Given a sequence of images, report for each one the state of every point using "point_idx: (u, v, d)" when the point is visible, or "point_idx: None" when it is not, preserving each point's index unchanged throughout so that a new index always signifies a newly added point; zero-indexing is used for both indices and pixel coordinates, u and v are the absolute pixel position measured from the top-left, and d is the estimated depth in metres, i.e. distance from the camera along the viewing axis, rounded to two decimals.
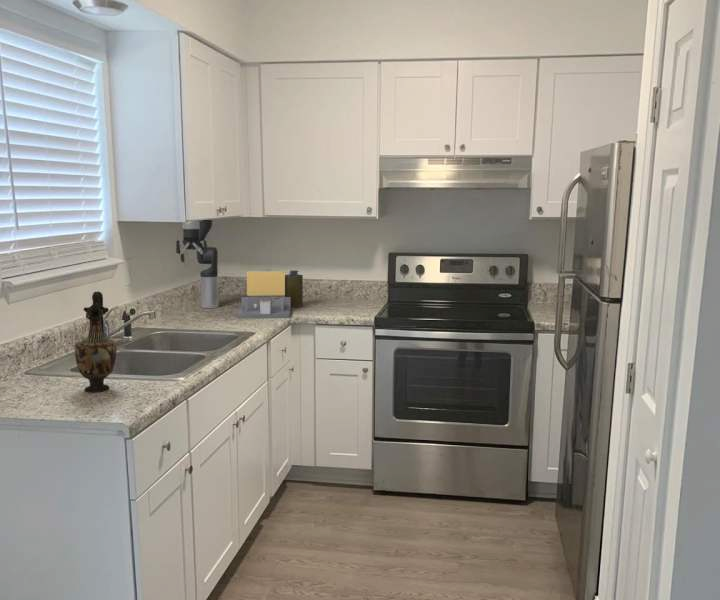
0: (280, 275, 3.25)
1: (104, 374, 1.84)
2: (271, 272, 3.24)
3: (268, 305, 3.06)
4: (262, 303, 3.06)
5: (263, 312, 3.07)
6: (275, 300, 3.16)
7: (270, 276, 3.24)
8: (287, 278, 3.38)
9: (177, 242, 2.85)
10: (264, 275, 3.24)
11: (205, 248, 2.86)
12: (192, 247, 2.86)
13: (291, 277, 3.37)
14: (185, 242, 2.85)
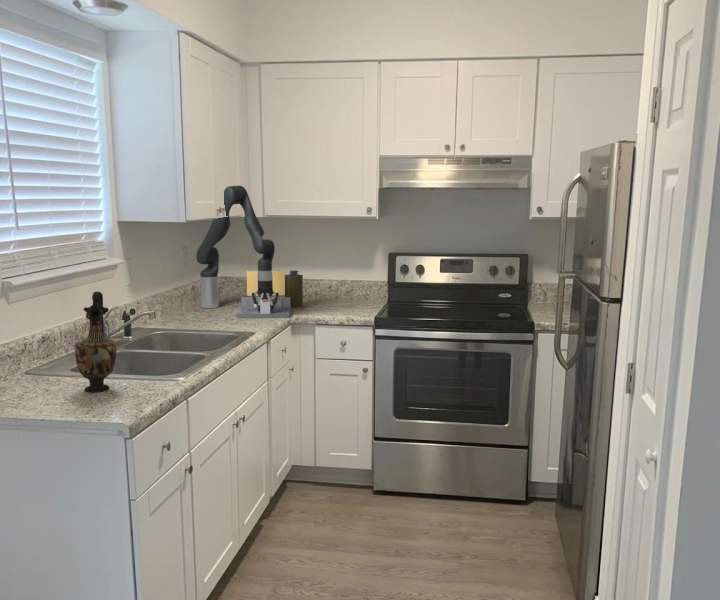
0: (280, 275, 3.25)
1: (104, 374, 1.84)
2: None
3: (268, 305, 3.06)
4: (262, 303, 3.06)
5: (263, 312, 3.07)
6: None
7: None
8: (287, 278, 3.38)
9: (252, 294, 3.06)
10: None
11: (276, 300, 3.08)
12: (266, 297, 3.07)
13: (291, 277, 3.37)
14: (259, 293, 3.07)
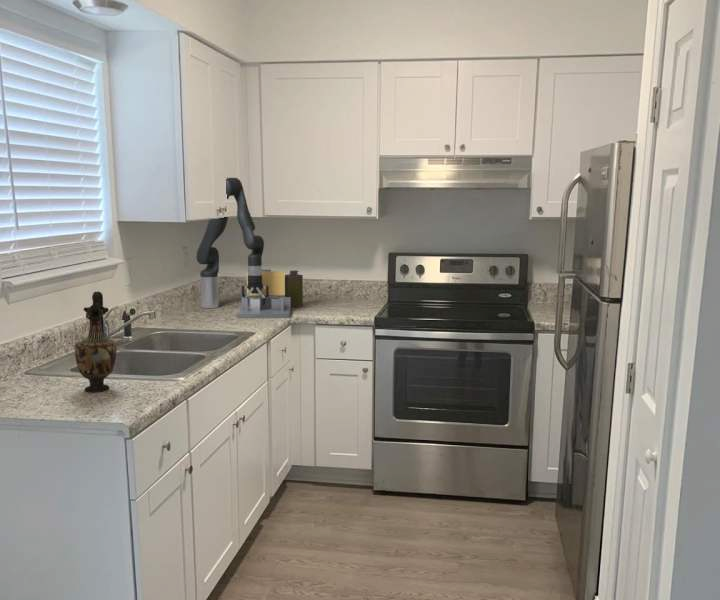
0: (280, 275, 3.25)
1: (104, 374, 1.84)
2: (271, 272, 3.24)
3: (258, 302, 3.16)
4: (252, 300, 3.15)
5: (253, 309, 3.16)
6: (275, 300, 3.16)
7: (270, 276, 3.24)
8: (287, 278, 3.38)
9: (242, 287, 3.15)
10: (264, 275, 3.24)
11: (267, 292, 3.17)
12: (256, 291, 3.16)
13: (291, 277, 3.37)
14: (249, 287, 3.16)
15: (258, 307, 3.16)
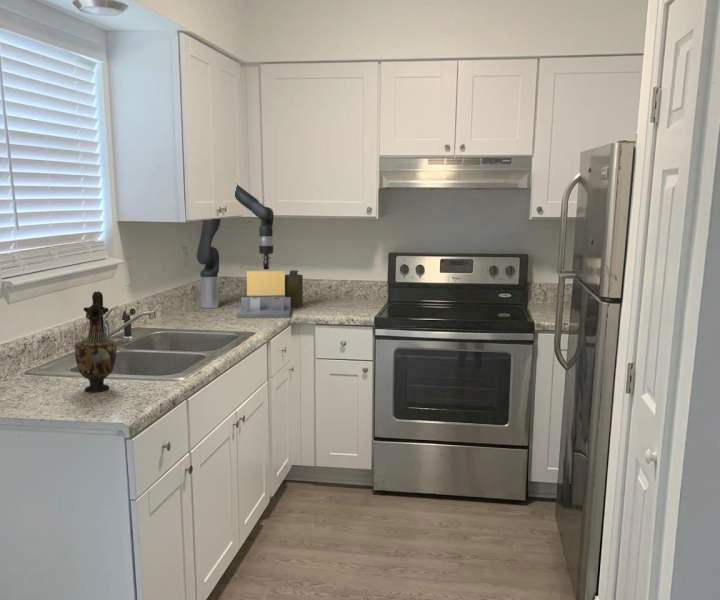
0: (280, 275, 3.25)
1: (104, 374, 1.84)
2: (271, 272, 3.24)
3: (258, 302, 3.16)
4: (252, 300, 3.15)
5: (253, 309, 3.16)
6: (275, 300, 3.16)
7: (270, 276, 3.24)
8: (287, 278, 3.38)
9: None
10: (264, 275, 3.24)
11: (263, 265, 3.24)
12: None
13: (291, 277, 3.37)
14: None
15: (258, 307, 3.16)
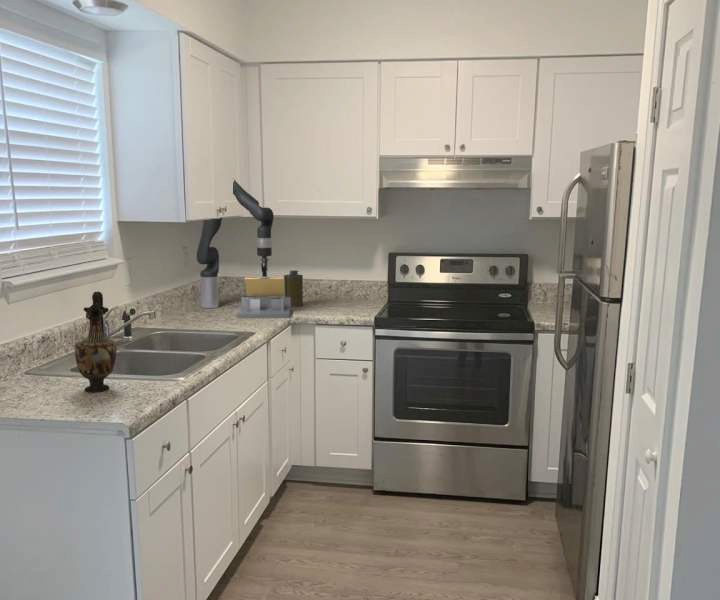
0: (279, 281, 3.17)
1: (104, 374, 1.84)
2: (270, 279, 3.15)
3: (258, 302, 3.16)
4: (252, 300, 3.15)
5: (253, 309, 3.16)
6: (275, 300, 3.16)
7: (269, 282, 3.17)
8: (287, 278, 3.38)
9: None
10: (263, 281, 3.16)
11: None
12: None
13: (291, 277, 3.37)
14: None
15: (258, 307, 3.16)
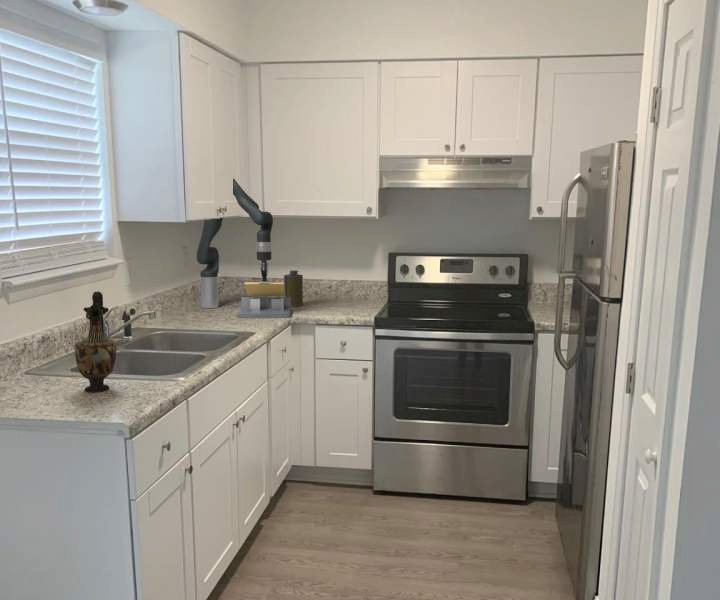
0: (279, 285, 3.15)
1: (104, 374, 1.84)
2: (270, 284, 3.13)
3: (258, 302, 3.16)
4: (252, 300, 3.15)
5: (253, 309, 3.16)
6: (275, 300, 3.16)
7: (269, 286, 3.15)
8: (287, 278, 3.38)
9: None
10: (263, 285, 3.14)
11: (261, 272, 3.11)
12: None
13: (291, 277, 3.37)
14: None
15: (258, 307, 3.16)
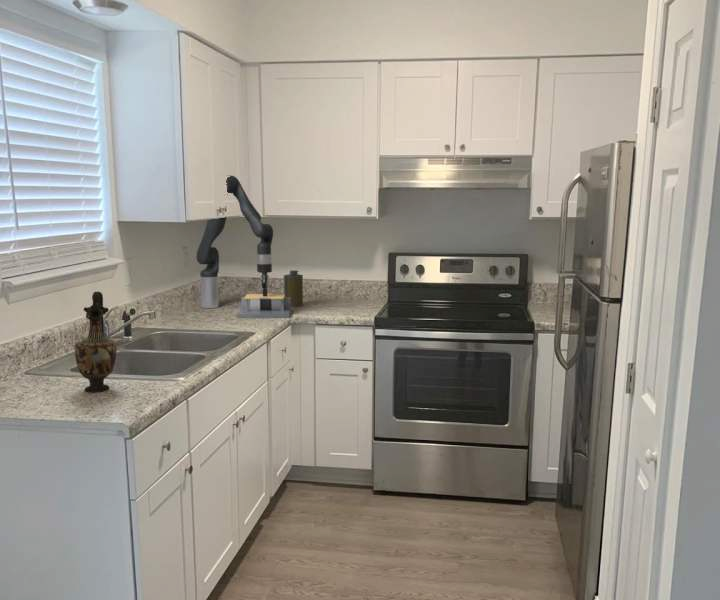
0: None
1: (104, 374, 1.84)
2: (269, 298, 3.12)
3: (258, 302, 3.16)
4: (252, 300, 3.15)
5: (253, 309, 3.16)
6: (275, 300, 3.16)
7: None
8: (287, 278, 3.38)
9: None
10: None
11: None
12: None
13: (291, 277, 3.37)
14: None
15: (258, 307, 3.16)
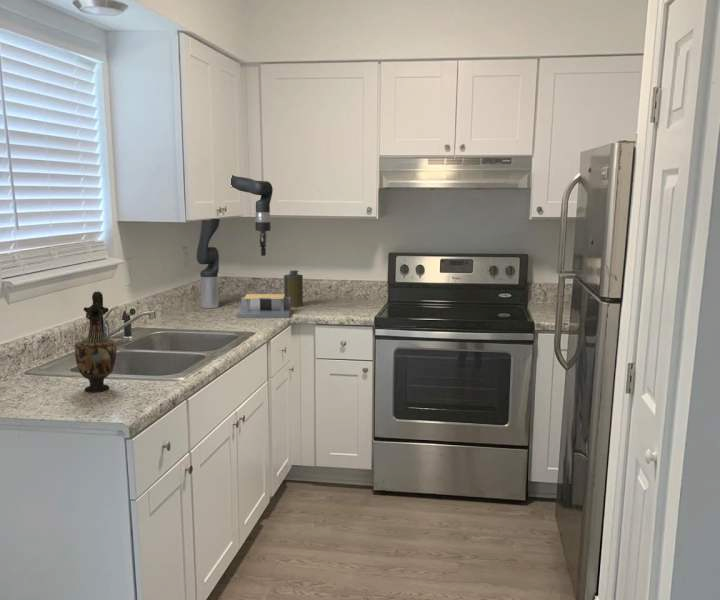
0: None
1: (104, 374, 1.84)
2: (269, 298, 3.12)
3: (258, 302, 3.16)
4: (252, 300, 3.15)
5: (253, 309, 3.16)
6: (275, 300, 3.16)
7: None
8: (287, 278, 3.38)
9: None
10: None
11: (260, 243, 3.04)
12: None
13: (291, 277, 3.37)
14: None
15: (258, 307, 3.16)
